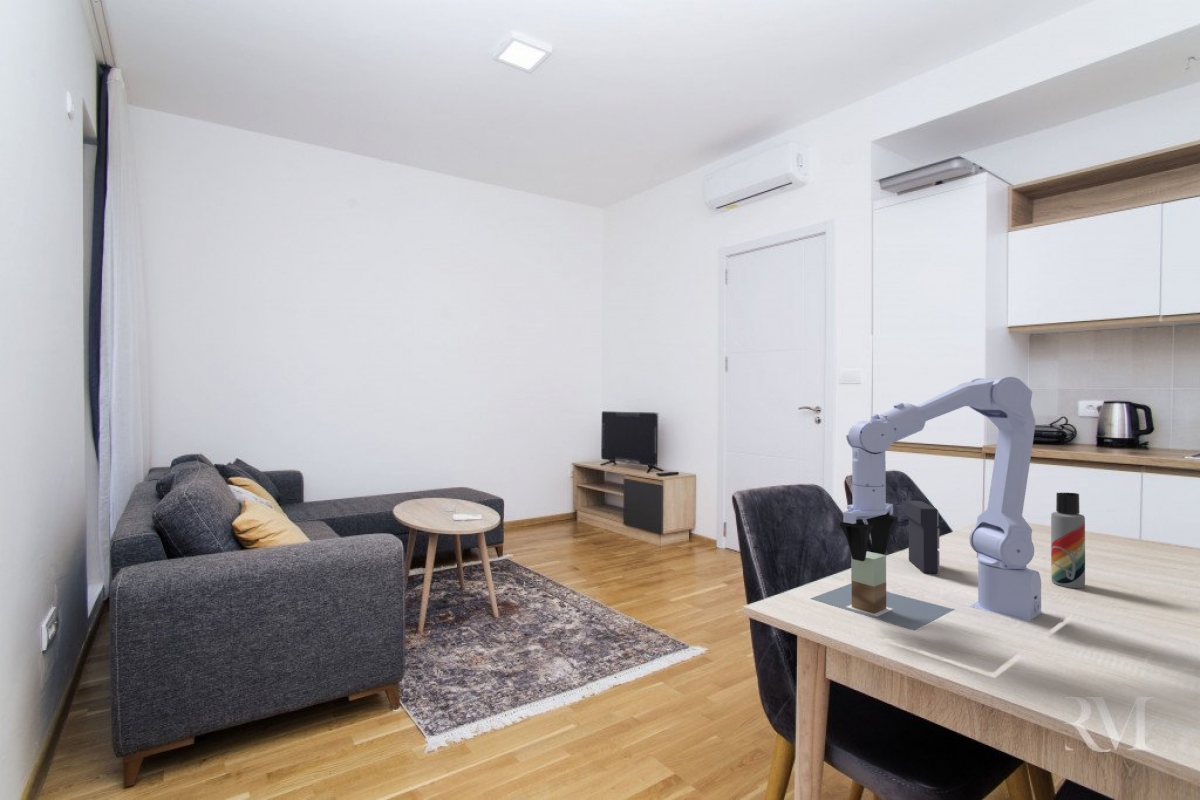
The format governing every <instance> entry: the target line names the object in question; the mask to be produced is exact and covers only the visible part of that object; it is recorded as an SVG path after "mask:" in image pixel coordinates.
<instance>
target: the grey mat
mask: <svg viewBox="0 0 1200 800" xmlns="http://www.w3.org/2000/svg"><path fill="white" fill-rule="evenodd" d="M809 600H813V601H816V602H819V603H822V604H825V605H829V606H832V607H836V608H839V609H841V610H842V609H843V610H846V611H850V612H852V613H854V614H859V615H863V616H865V617H868V618H872V619H875V620H879V621H882V622H886V623H889V624H892V625H894V626H899V627H902V628H906V629H908V630H911V631H916V630H918V629H919V628H923V626H926V625H927V624H929V623H932V622H934V621H935V620H937V619H939V618H941V617H943V616H944V615H947V614H948V613H950V612H952V611H955V609H954V608H951V607H947V606H943V605H940V604H936V603H931V602H927V601H923V600H920V599H916V598H911V597H909V596H905V595H900V594H897V593H893V592H890V591H886V609H884V610H882V611H880V612H877V613H875V614H873V613H870V612H867V611H863V610H860V609H857V608H853V607H852V582H851V583H848V584H846V585H843V586H841V587H838V588H835V589H832V590H830V591H826V592H824V593H821V594H819V595H816V596H814V597H813V596H812V597H810V599H809Z"/></svg>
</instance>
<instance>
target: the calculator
mask: <svg viewBox="0 0 1200 800" xmlns="http://www.w3.org/2000/svg"><path fill="white" fill-rule="evenodd" d="M905 516H906V518H907V519H908V561H909V562H910V563H911V564H912V565H913V566H915V568H917V569H918V570H919V569H920V570H919V571H921V572H922V573H923V574H929V573H931V575H932V574H933V575H937V574H938V573H939V572H940V569H941V568H940V567H941V566H940V550H939V549H940V528H939V510H938V509H937V507H934V506H933V505H930V504H929V503H926V502H925V501H922V500H906V501H905Z"/></svg>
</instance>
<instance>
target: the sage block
mask: <svg viewBox="0 0 1200 800" xmlns="http://www.w3.org/2000/svg"><path fill="white" fill-rule="evenodd" d="M850 555H851V554H850ZM850 560H851V562H850V563H851V564H850V569H851V570H850V573H851V579H850V580H851V582H852V581H855V582H859V583H863V584H866V585H870V586H877V585H879V584H882V583H885V582H886V583H887V555H886V554H879V553H874V552H871V551H867V552H866V558H865V561H858V560H854V559H852V555H851V557H850Z"/></svg>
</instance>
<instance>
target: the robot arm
mask: <svg viewBox="0 0 1200 800" xmlns="http://www.w3.org/2000/svg"><path fill="white" fill-rule="evenodd" d="M1032 396H1033V391H1032V389H1031V388H1030V387H1028V386H1027V385H1026V384H1025V382H1024V381H1022V380H1021V379H1020V378H1017V377H1016V376H1005V377H997V378H996V377H995V378H980V377H979V378H974V379H972V380H970V381H968V382H967V381H965V382H961V383H960V384H958V385H957V386H953V388H950V389H948V390H946V391H943V392H942V393H940V394H938V395H936V396H934V397H932V398H930V399H928V400H926V401H923V402H922V403H919V404H918V405H915V404H912V403H909V402H908V403H907V402H906V403H903V402H898V403H895V404H893V408H891V409H890V410H888V411H886V412H883V413H880V414H877V413H876V414H873V415H870V421H868V420H860V421H857V422H855V423H854V424H853V425H852V426H851V427H849V430H848V434H845V437H846V441H847V443H848V444H847V445H849V446H850V448H851V450H852V461H851V462H852V463H851V464H852V465H851V467H852V472H851V473H852V476H851V477H852V479H851V480H852V483H851V484H852V487H851V488H852V490H851V493H852V504H848V505H847V506H846V509H847V510H845V511H843V512H842V513H843V518H842V519H840V520H839V527H840V528H841V530H842V531H843V534H844V536H845V538H846V540H847V544H848V547H849V550H850V555H852V559H854V560H858V561H865V558H866V552H867V550H868V542H869V539H870V540H871V541H870V542H871V549H872V551H873V553H877V554H882V555H886V553H887V550H888V546H889V542H890V538H891V535H892V532H893V530H894V528H895V527H896V525H897V524H898V521H899V518H898V516H894V515H893V514H894V504H892V503H887V500H886V497H887V495H886V490H887V489H886V487H887V483H886V480H887V479H886V476H887V475H886V473H887V472H886V469H887V468H886V452H887V450H889V448H890V447H891V446H892V444H893V443H896V442H899V441H901V440H903V439H905V438H907V437H909V436H912V435H914V434H917V433H918V432H921V431H923V430H924V427H925V425H926V422H927V421H929V420H932V419H935V418H938V417H940V416H943V415H945V414H948V413H951V412H954V411H956V410H960V409H961V408H965V407H969V408H970V409H972V410H973V411H975V412H977V413H979V414H981V415H982V416H983V417H985V418H988V419H989V420H990V421H991V423H993V424H994V426H996V427H997V430H998V433H997V439H996V440H997V441H996V446H995V447H996V448H995V453H994V454H995V455H994V460H993V466H992V467H993V468H992V472H991V473H992V475H991V481H990V488H989V495H988V502H987V508H986V509H985V510H984V511H983V512H981V513H980V514H979V515H978V516H977V518H976V524H975V526H974V527H973V528H972V530H971V532H970V534H969V544H970V547H971V549H972V550H973V551H974V552H975V553H976V558H977V563H978V564H977V572H978V573H977V578H978V579H977V580H978V581H977V582H978V583H977V591H978V593H977V594H978V596H977V597H978V598H977V601H976V602H974V603H972V604H970V605H969V607H970V608H975V609H978V610H981V611H985V612H989V613H994V614H998V615H1001V616H1004V617H1005V616H1006V617H1009V618H1012V619H1013V618H1014V619H1017V620H1020V621H1025V622H1030V621H1031V620H1033V619H1034V618H1036V617H1038V615H1040V614H1041V613H1042V614H1043V611H1042V578H1041V574H1040V572H1039V571H1038V570H1035V569H1031V568H1028V567H1027V565H1029V564H1030V563H1031V561H1032V560H1033V558H1034V556H1035V546H1034V542H1033V540H1032V534H1033V529H1032V527H1031V526H1030V525H1029V523H1028V521H1027V520H1026V519H1025V518H1024V517H1023V512H1024V506H1025V499H1026V498H1025V497H1026V492H1027V485H1028V478H1029V471H1030V464H1031V457H1032V452H1033V451H1032V450H1033V444H1034V437H1035V429H1036V419H1035V418H1036V417H1035V415H1034V411H1033V407H1032V405H1031V403H1032V398H1033V397H1032ZM864 520H866V522H867V524H866V523H865V522H864Z"/></svg>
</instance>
